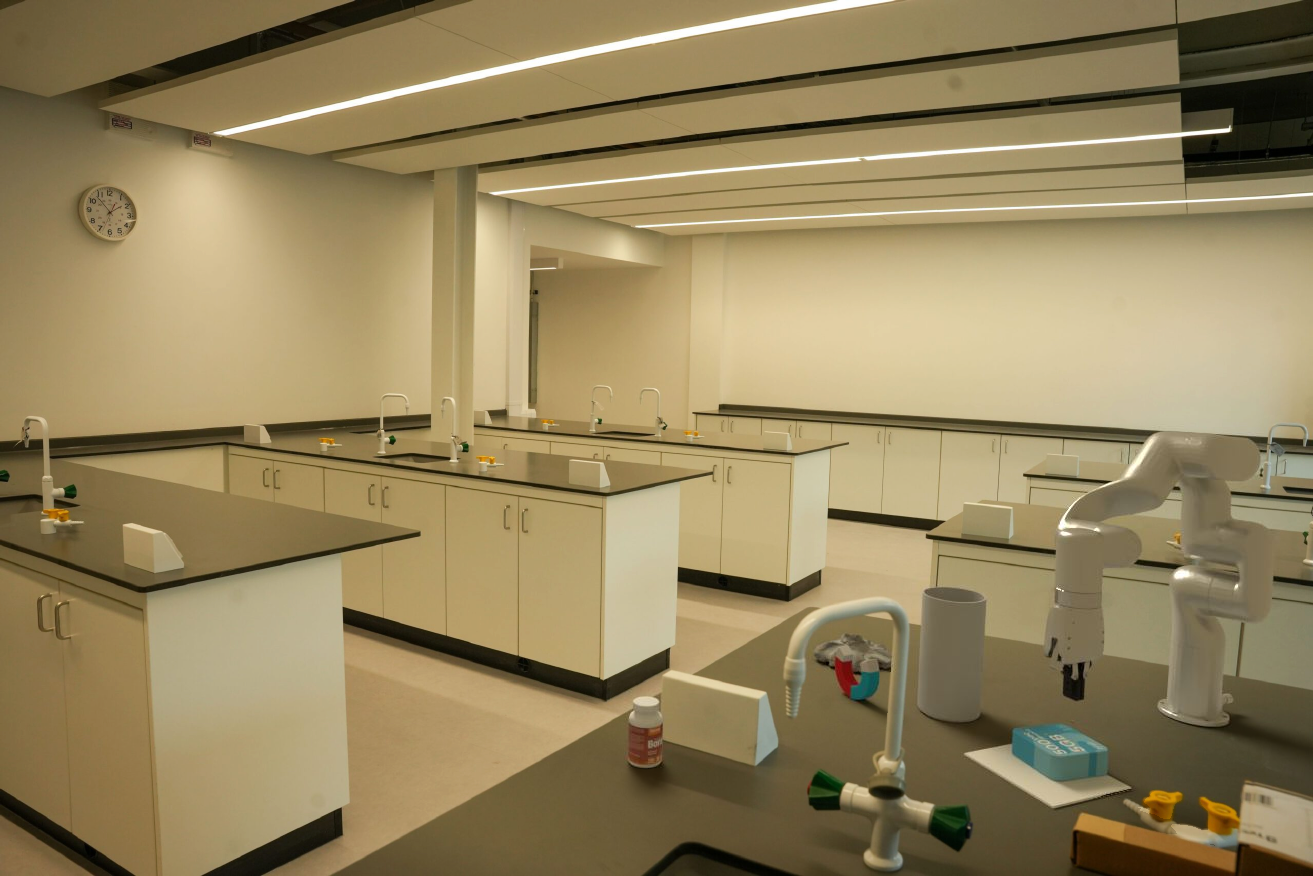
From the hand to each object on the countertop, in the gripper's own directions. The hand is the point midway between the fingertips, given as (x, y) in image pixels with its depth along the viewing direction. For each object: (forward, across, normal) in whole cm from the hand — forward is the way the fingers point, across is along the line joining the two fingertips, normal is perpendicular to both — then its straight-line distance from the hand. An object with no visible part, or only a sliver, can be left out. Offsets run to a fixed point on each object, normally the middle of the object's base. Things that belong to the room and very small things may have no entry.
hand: (1073, 697), depth 148 cm
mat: (+12, +6, 0) cm, 14 cm away
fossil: (+13, +4, -58) cm, 60 cm away
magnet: (+13, +18, -40) cm, 45 cm away
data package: (+10, -4, 0) cm, 11 cm away
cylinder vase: (+13, +4, -27) cm, 30 cm away
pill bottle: (+11, +72, -28) cm, 78 cm away
